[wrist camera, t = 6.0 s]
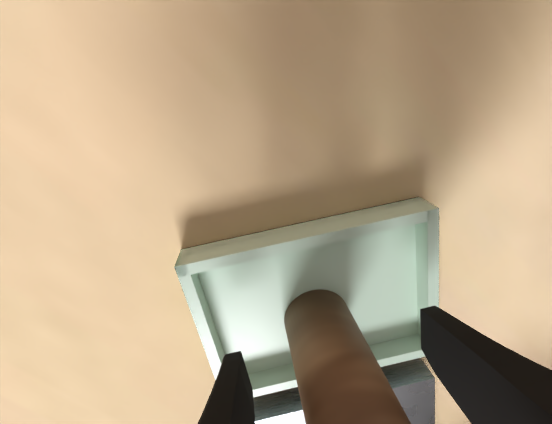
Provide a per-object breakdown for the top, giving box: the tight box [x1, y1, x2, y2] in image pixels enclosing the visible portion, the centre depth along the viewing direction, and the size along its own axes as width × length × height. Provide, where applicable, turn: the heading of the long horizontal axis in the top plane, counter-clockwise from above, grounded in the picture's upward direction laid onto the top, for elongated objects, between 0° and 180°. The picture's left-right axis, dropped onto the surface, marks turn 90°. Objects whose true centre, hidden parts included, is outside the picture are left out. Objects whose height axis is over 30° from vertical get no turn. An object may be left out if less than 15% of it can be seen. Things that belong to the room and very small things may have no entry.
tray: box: [175, 197, 439, 397], centre depth 15 cm, size 11×8×2 cm
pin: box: [284, 289, 411, 424], centre depth 11 cm, size 4×4×9 cm
